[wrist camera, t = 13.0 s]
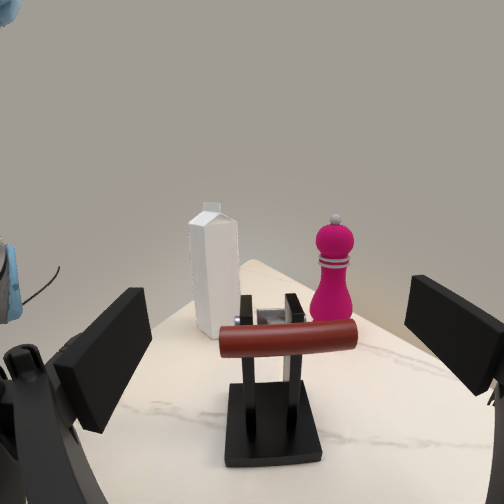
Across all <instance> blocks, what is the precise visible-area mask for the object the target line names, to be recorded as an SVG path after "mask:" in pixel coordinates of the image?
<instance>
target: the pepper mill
mask: <svg viewBox="0 0 504 504" xmlns="http://www.w3.org/2000/svg"><path fill="white" fill-rule="evenodd" d="M330 223H331V224H330V225H326V226H324V227H322V228H321V229H320V230H319V232H318V233H317V236H316V246H317V248H318V250H319V251H320V252H321V254H320V255H319V262H318V263H319V265H321V281H320V284H319V287H318V289H317V290H316V292H315V294H314V296H313V298H312V301H311V304H310V314H311V316H312V318H313V319H314V320H313V321H312V322H319V321H331V320H342V319H349V318H350V317H351V315H352V302H351V298H350V295H349V293H348V290H347V287H346V281H345V279H346V268H347V266H349V264H350V263H349V259H350V256H348V253H349V252H350V251H351V250H352V248H353V245H354V238H353V234H352V232H351V231H350V230H349V229H348V228H347V227H345V226H343V225H339V224H340V223H341V218H340V216H339V215H336V214H334V215H332V216H331V217H330Z"/></svg>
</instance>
